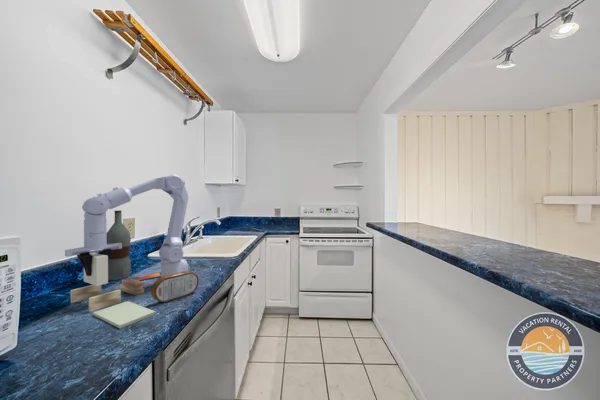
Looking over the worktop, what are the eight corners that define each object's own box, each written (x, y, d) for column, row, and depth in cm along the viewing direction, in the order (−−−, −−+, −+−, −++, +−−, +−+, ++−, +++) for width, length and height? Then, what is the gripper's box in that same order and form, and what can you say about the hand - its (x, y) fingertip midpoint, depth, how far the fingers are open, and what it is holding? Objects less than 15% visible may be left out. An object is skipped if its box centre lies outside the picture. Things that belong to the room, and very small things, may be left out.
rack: (100, 294, 86) (100, 283, 86) (120, 302, 78) (120, 290, 78) (70, 302, 79) (70, 290, 79) (90, 312, 71) (90, 298, 71)
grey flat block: (94, 278, 82) (94, 253, 82) (108, 283, 77) (107, 255, 77) (83, 281, 80) (83, 254, 80) (96, 286, 75) (96, 257, 75)
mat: (127, 303, 77) (127, 301, 77) (155, 314, 69) (155, 311, 69) (93, 315, 69) (93, 312, 69) (119, 328, 61) (119, 325, 61)
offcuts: (130, 287, 92) (130, 278, 92) (145, 292, 87) (145, 282, 87) (120, 290, 89) (120, 280, 89) (135, 295, 84) (135, 285, 84)
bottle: (104, 277, 106) (104, 210, 106) (129, 273, 112) (129, 210, 112) (105, 282, 99) (105, 211, 99) (132, 277, 105) (132, 210, 106)
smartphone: (120, 281, 101) (120, 279, 101) (160, 274, 111) (160, 271, 111) (120, 286, 95) (120, 283, 95) (163, 277, 105) (163, 275, 105)
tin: (195, 290, 88) (195, 267, 88) (200, 292, 86) (199, 269, 86) (150, 304, 76) (150, 278, 76) (154, 306, 74) (154, 279, 74)
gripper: (115, 230, 87) (115, 267, 87) (61, 235, 74) (61, 278, 74) (124, 231, 83) (125, 269, 83) (69, 236, 71) (70, 281, 71)
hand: (95, 273), depth 78 cm, fingers closed on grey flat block, 3 cm apart
